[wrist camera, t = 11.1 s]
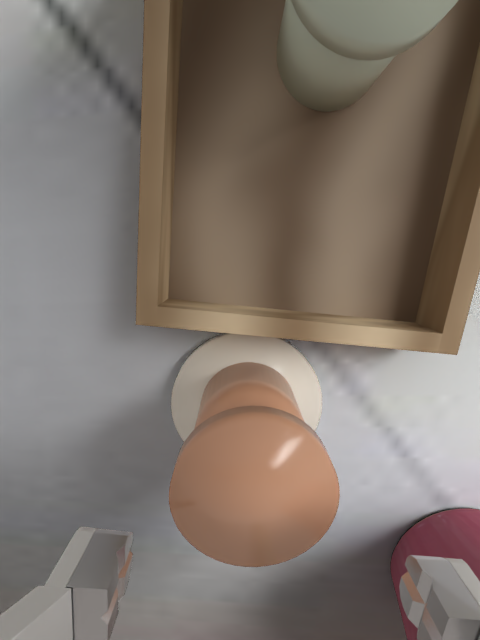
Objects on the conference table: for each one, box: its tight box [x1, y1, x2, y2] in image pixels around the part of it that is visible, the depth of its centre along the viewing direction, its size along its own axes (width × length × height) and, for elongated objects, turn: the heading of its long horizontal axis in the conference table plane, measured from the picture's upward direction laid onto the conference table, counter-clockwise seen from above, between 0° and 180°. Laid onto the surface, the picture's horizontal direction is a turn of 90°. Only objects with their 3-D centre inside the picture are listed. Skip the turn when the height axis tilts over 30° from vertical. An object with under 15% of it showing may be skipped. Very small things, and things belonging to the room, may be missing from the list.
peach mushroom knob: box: [169, 362, 339, 567], centre depth 15 cm, size 6×6×7 cm
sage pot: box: [277, 0, 458, 112], centre depth 12 cm, size 6×6×6 cm
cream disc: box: [171, 333, 322, 442], centre depth 19 cm, size 9×9×1 cm
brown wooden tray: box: [136, 0, 480, 355], centre depth 15 cm, size 16×18×3 cm
